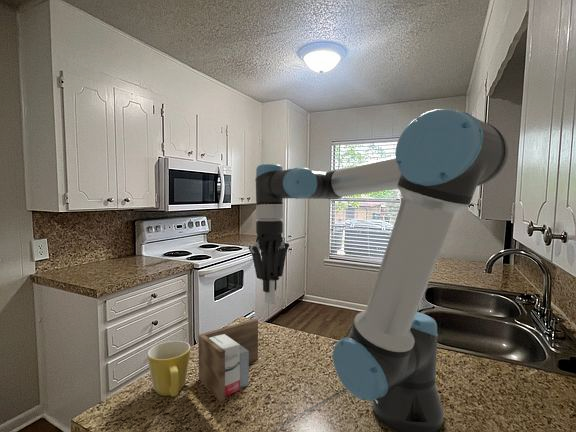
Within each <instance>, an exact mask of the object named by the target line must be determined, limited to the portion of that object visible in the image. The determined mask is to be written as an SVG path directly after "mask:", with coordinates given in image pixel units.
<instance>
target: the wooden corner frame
mask: <svg viewBox="0 0 576 432" xmlns="http://www.w3.org/2000/svg"><path fill="white" fill-rule="evenodd" d="M223 334H225V335H226V336H228V337H229V338H231V339H232V340H234V341H235V342H237V343H238V344H240V345H241V346H242V347H244V348H245V349H247V350H248V351H249V364H250V363H253V362H256V361H259V320H258V319H257V318H255V319H251V320H247V321H245V322H240V323H236V324H233V325H230V326H226V327H222V328H218V329H215V330H212V331H208V332H205V333H200V334H198V380H199V381H200V383H202V385H203V386H204V387H205V388H206V389H207V390H208V391H209V392H210V393H211V394H212V395H213V396H214V397H215V398H216V399H217V400H218V402H220V403H221V402H224V401H226V396H225V350H224V349H222V348H221V347H220V346H218V345H217V344H216V343H214V342H213V341H212V340H210V339H209V338H210V337H214V336H218V335H223Z"/></svg>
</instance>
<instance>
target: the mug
mask: <svg viewBox="0 0 576 432" xmlns="http://www.w3.org/2000/svg"><path fill="white" fill-rule="evenodd" d="M190 354H191V344H190V343H188V342H186V341H182V340H170V341H165V342H161V343H158V344H156V345H154V346H152V347H151V348H150V349H148V351H147V361H148V367H149V372H150V378H151V383H152V388H153V390H154V391H155V392H156V393H157V394H159V395H160V396H165V397H167V396H168V397H169V396H171V397H177V396H178V395H179V392H180V391H181V390H182V388H184V386H185V385H186V383H187V379H188V378H187V377H188V376H187V375H188V371H189V370H188V369H189V362H190V361H189V360H190Z"/></svg>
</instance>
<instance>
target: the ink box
mask: <svg viewBox="0 0 576 432" xmlns="http://www.w3.org/2000/svg"><path fill="white" fill-rule="evenodd" d="M209 339H210V340H212V341H213V342H214V343H216V344H217V345H218V346H220V347H221V348H222V349H224V350H225V397H227V396H229V395H231V394H234V393H237V392H238V391H240V390H241V389H240V344H238V343H237V342H235V341H234V340H232V339H231V338H229V337H228V336H226V335H225V334H223V335H218V336H214V337H210V338H209Z"/></svg>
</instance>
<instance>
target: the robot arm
mask: <svg viewBox="0 0 576 432" xmlns="http://www.w3.org/2000/svg"><path fill="white" fill-rule="evenodd" d="M508 158H509V147H508V142H507V139H506V137H505V136H504V134H503V133H502V132H501V131H500V130H499V129H498V128H497V127H495V126H493V124H490V123H488V122H484V121H483V120H480V119H478V118H476V117H475V116H474V115H472V114H470V113H468V112H466V111H465V112H463V111H461V110H456V109H450V108H438V109H432V110H429V111H426V112H424V113H422V114H421V115H419V116H417V117H416V118H414V119H413V120H412V121H411V122H410V123H409V124H408V125H406V127H405V128H404V129H403V131H402V132H401V134H400V136H399V138H398V141H397V143H396V147H395V155H394V156H391V157H386V158H382V159H377V160H372V161H369V162H365V163H359V164H354V165H351V166H347V167H343V168H338V169H334V170H330V171H316V170H311V169H310V168H307V167H294V168H290V169H285V170H283V166H282V165H280V164H276V163H271V164H270V163H269V164H268V163H266V164H259V165H257V167H256V170H255V173H256V174H255V203H256V204H255V205H256V207H255V209H256V210H255V211H256V212H255V215H256V216H255V218H256V219H257V221H256V222H255V224H256V228H255V229H256V231H255V232H256V240H255V243H254V244H253V245H249V246H248V250H249V252H250V254H251V257H252V261H253V267H254V271H255V276H256V278H257V279H259V280H261V281H262V291H263V293H264V302H265V303H266V304H270V305H273V304H276V291H277V282H278V281H279V280H280V277H282V276H283V273H284V267H285V261H286V256H287V252H288V250H289V248H290V243H288V242H285V241H284V240H283V239H284V238H283V235H282V234H283V232H284V226H283V225H284V222H283V220H282V219H283V218H284V210H283V209H284V206H283V204H284V202H283V200H284V199H296V200H297V199H301V200H302V199H303V200H304V199H307V200H309V199H310V200H311V199H313V200H315V199H318V200H319V199H320V200H339V199H341V198H343V197H348V196H356V195H363V194H364V195H365V194H370V193H371V194H372V193H377V192H378V193H379V192H386V191H395V190H399V193H400V194H401V196H402V200H401V203H400V206H399V209H398V212H397V215H396V218H395V221H394V224H393V227H392V231H391V233H390V237H389V238H388V239H389V240H388V242H387V246H386V248H385V251H384V253H383V257H382V260H381V263H380V266H379V269H378V272H377V275H376V278H375V282H374V284H373V288H372V291H371V294H370V297H369V300H368V302H367V306H366V309H365V310H364V311H360V312H359V313H357V314H356V316H355V318H354V320H353V322H352V326H351V329H350V332H349V334H348V336H346V337H343V338H341V339H340V340H339V341H337V342H336V344H335V346H334V349H333V350H332V361H333V366H334V369H335V372H336V375H337V377H338V379H339V381H340V382H341V384H342V385H343V387H344V388H345V389H346V390H347V392H349V393H350V394H352V395H353V396H354V397H355V398H357V399H358V400H361V401H365V402H367V401H368V402H372V409H373V412H374V413H375V415H376V417H378V418H379V420H380V421H382V422H383V423H384V424H385V425H387V426H388V427H390V428H392V429H394V430H397V431H399V432H438V431H439V430H440V429H441V428H442V427H443V423H444V408H443V405H442V402H441V399H440V395H439V392H438V389H437V388H438V387H437V385H436V380H437V379H436V373H437V351H438V337H439V334H438V323H437V322H436V320H435V319H434V318H433V317H431V316H429V315H427V314H425V313H422V312H419V311H418V310H419V308H420V305H421V302H422V299H423V297H424V295H425V291H426V289H427V287H428V284H429V282H430V279H431V276H432V274H433V271H434V268H435V266H436V263H437V261H438V259H439V256H440V253H441V250H442V249H443V245H444V243H445V240H446V238H447V235H448V232H449V229H450V227H451V224H452V221H453V219H454V217H455V215H456V213H457V212H459V211H460V210H463V209H465V208H467V207H470V204H471V202H472V199H473V197H474V195H475V192H476V189H477V187H479V186H483V185H485V184H487V183H490V182H491V181H493V180H494V179H495V178H497V176H498V175H500V173H502V171H503V169H504V168H505V165H506V164H507V161H508Z"/></svg>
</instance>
